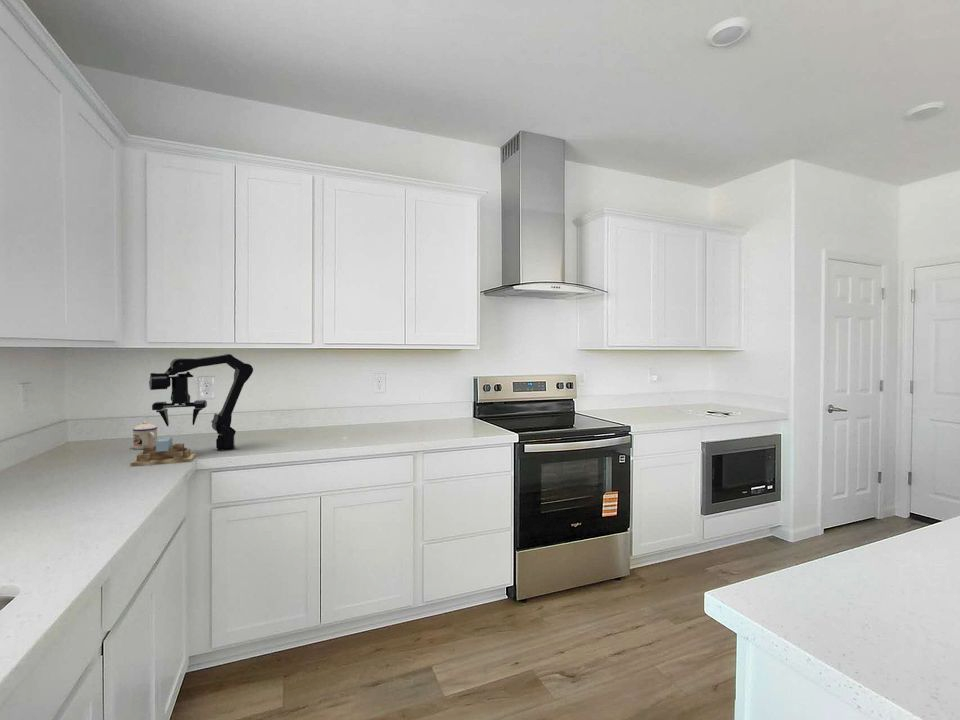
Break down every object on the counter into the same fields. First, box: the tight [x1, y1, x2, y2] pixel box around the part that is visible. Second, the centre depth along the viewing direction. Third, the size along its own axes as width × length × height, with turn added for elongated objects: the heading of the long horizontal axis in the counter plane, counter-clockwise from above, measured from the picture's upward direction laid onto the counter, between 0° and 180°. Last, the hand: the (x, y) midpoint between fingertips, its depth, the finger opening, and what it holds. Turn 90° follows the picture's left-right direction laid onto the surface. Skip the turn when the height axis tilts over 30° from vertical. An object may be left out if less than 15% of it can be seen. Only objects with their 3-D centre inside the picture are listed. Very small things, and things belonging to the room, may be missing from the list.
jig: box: [129, 447, 197, 467], centre depth 185 cm, size 20×9×4 cm, turn 112°
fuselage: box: [142, 442, 185, 460], centre depth 185 cm, size 13×4×5 cm, turn 112°
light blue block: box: [156, 436, 174, 452], centre depth 185 cm, size 4×8×4 cm, turn 23°
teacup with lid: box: [132, 420, 158, 450], centre depth 208 cm, size 12×9×12 cm
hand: (180, 425), depth 195 cm, fingers open, 9 cm apart
